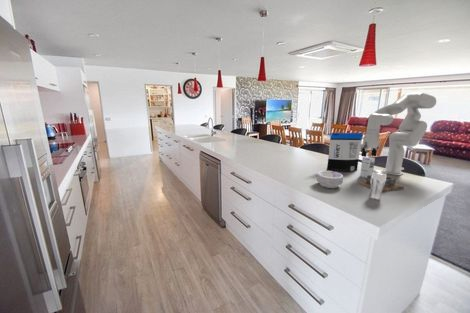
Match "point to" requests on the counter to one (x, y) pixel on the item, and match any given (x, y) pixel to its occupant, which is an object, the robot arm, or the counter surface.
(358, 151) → the protein powder
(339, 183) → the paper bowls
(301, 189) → the counter surface
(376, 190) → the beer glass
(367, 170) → the syrup box
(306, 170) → the counter surface
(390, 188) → the holder
